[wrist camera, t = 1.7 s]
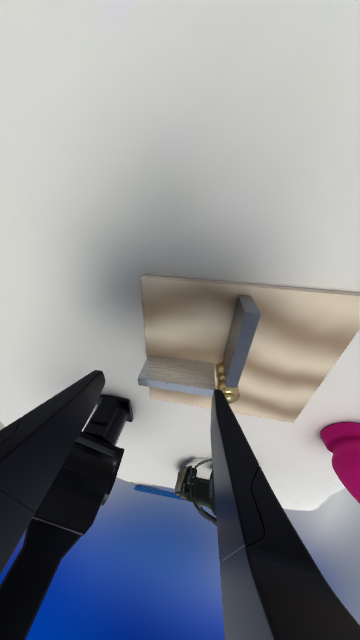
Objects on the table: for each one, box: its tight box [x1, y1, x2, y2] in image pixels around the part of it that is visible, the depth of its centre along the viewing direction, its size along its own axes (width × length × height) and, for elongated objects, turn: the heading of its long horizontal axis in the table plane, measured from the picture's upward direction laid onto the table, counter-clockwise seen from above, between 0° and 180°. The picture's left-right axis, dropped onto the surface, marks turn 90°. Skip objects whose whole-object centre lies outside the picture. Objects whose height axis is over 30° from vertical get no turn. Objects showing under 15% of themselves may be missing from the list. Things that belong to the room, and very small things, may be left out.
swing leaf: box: [217, 295, 261, 388], centre depth 17 cm, size 11×2×4 cm, turn 178°
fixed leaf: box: [138, 354, 240, 404], centre depth 20 cm, size 11×2×4 cm, turn 88°
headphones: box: [175, 459, 217, 526], centre depth 35 cm, size 13×13×20 cm
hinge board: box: [140, 275, 360, 423], centre depth 21 cm, size 20×22×1 cm
